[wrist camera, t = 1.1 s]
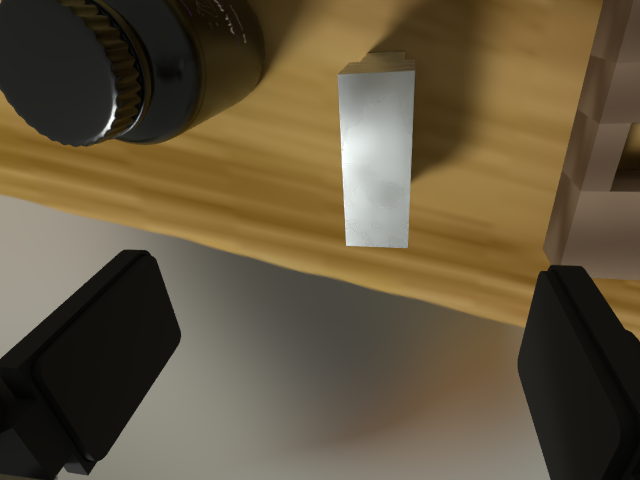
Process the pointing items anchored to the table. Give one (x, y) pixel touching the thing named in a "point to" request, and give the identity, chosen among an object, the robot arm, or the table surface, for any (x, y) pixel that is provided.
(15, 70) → the supplement bottle
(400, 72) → the grey boxy piece
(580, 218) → the rail
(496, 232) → the table surface
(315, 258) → the table surface
